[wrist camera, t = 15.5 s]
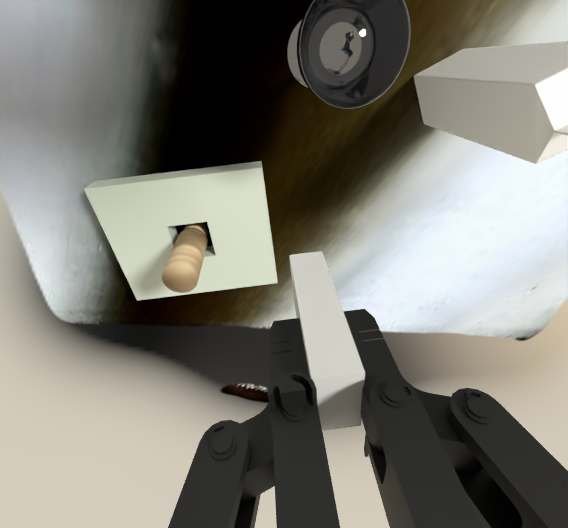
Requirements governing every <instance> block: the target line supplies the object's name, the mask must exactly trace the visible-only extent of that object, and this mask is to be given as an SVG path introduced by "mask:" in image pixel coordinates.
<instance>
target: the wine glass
mask: <svg viewBox="0 0 568 528" xmlns="http://www.w3.org/2000/svg"><path fill="white" fill-rule="evenodd" d="M410 31H411V29H410V18H409V14H408V10H407V6H406V4H405V1H404V0H313V1H312V3H311V4H310V6H309V7H308V9H307V11H306V13H305V15H304V17H303V19H302V20H301V21H300V22H299V23H298V24H297V25H296V26H295V28H294V29H293V31H292V33H291V35H290V39H289V42H288V48H287V58H288V64H289V68H290V70H291V72H292V74H293V76H294V77H295V79H296V80H297V81H298V82H299V83H300V84H302V85H303V86H305V87H307V88H309V89H310V90H311V91H312V92H313V93H314V94H315V95H316V96H317V97H318V98H319V99H321V100H322V101H324V102H325V103H327V104H330V105H332V106H334V107H339V108H357V107H362V106H364V105H367V104H370V103H371V102H373V101H375V100H376V99H378V98H379V97H380V96H382V95H383V94H384V93H385V92H386V91H387V90H388V89H389V88H390V87H391V85H392V84H393V83H394V81H395V80H396V78H397V77H398V75H399V74H400V72H401V70H402V67H403V65H404V63H405V60H406V57H407V54H408V49H409V44H410Z"/></svg>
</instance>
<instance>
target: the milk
mask: <svg viewBox="0 0 568 528" xmlns="http://www.w3.org/2000/svg"><path fill="white" fill-rule="evenodd" d="M414 81H415V86H416V91H417V95H418V100H419V105H420V109H421V114H422V119H423V123H424V124H425V125H428V126H431V127H433V128H436V129H439V130H442V131H445V132H448V133H450V134H453V135H456V136H459V137H462V138H464V139H467V140H470V141H473V142H476V143H479V144H481V145H484V146H487V147H490V148H493V149H495V150H498V151H501V152H504V153H507V154H510V155H512V156H515V157H518V158H521V159H524V160H526V161H529V162H532V163H535V164H536V163H539V162H541V161H543V160H545V159H547V158H550V157H552V156H554V155H556V154H558V153H561V152H563V151H565V150H567V149H568V41H565V42H551V43H538V44H524V45H511V46H497V47H483V48H470V49H462V50H460V51H458V52H457V53H455V54H453V55H451V56H449V57H447V58H446V59H444V60H442V61H440V62H438V63H436V64H434V65H433V66H431V67H429V68H427V69H425V70H423V71H422V72H420V73H418V74H416V75H414Z"/></svg>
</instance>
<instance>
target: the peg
mask: <svg viewBox="0 0 568 528" xmlns="http://www.w3.org/2000/svg"><path fill="white" fill-rule="evenodd" d="M207 235H208V231H207V228H206V227H205V225H203V224H202V223H193V224H186V226H185V228H184V230H182V231H181V232H180V234H179V236H178V238H177V241H176V243H175V245H174V248H173V250H172V252H171V254H170V257H169V259H168V261H167V264H166V266H165V268H164V271H163V273H162V281H163V283H164V285H165V286H166V287H167V288H169V289H170V290H172V291H174V292H179V293H185V292H189V291H191V290H193V289H194V288H195V287H196V286H197V283H198V279H199V275H200V271H201V267H202V263H203V259H204V255H205V251H206V247H207V243H208V240H207Z"/></svg>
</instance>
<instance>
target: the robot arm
mask: <svg viewBox="0 0 568 528" xmlns="http://www.w3.org/2000/svg"><path fill="white" fill-rule="evenodd" d="M289 256H290V266H291V276H292V285H293V295H294V303H295V309H296V316H297V318H296V319H288V320H280V321H274V322H273V324H272V326H271V329H270V331H269V341H270V359H271V380H272V383H271V384H270V386H269V390H268V399H269V403H268V405H267V406H266V408H265V409H264V410H263V411H262V412H261V413H260V414H258V415H256V416H255V417H253V418H251V419H249V420H247V421H245V422H243V423H240V424H239V423H238V422H235V421H232V420H227V421H221V422H218V423H216V424H214V425H212V426H211V427H210V428H209V429H208V430H207V431H206V432H205V433H204V435H203V437H202V439H201V440H200V442H199V445H198V448H197V451H196V454H195V456H194V459H193V462H192V464H191V467H190V470H189V472H188V475H187V478H186V480H185V483H184V486H183V489H182V491H181V494H180V497H179V499H178V502H177V505H176V508H175V510H174V513H173V516H172V518H171V521H170V524H169V527H168V528H254V526H255V521H256V515H257V510H258V505H259V499H260V494H261V493H263V492H265V491H266V490H268V489H270V488H271V487H273V486H275V499H276V518H277V528H340V525H339V520H338V514H337V509H336V504H335V499H334V493H333V487H332V482H331V476H330V472H329V465H328V460H327V454H326V449H325V444H324V438H323V433H322V430H329V429H337V428H345V427H352V426H360V425H361V418H362V421H363V424H364V427H365V431H366V436H365V446H364V452H365V457H367V456H368V455H369V457H370V460H371V464H372V467H373V470H374V474H375V477H376V481H377V484H378V488H379V491H380V495H381V498H382V502H383V505H384V509H385V512H386V516H387V519H388V523H389V526H390V528H568V471H567V470H566V469H565V468H564V467H563V466H562V465H561V464H560V463H559V462H558V461H557V460H556V459H555V458H554V457H553V456H552V455H551V454H550V453H549V452H548V451H547V450H546V449H545V448H544V447H543V446H542V445H541V444H540V443H539V442H538V441H537V440H536V439H535V438H534V437H533V436H532V435H531V434H530V433H529V432H528V431H527V430H526V429H525V428H524V427H523V426H522V425H521V424H520V423H519V422H518V421H517V420H516V419H515V418H514V417H513V416H512V415H511V414H510V413H509V412H507V411H506V410H505V408H503V406H502V405H501V404H499V403H498V402H497V401H496V400H495V399H494V398H492V397H491V396H490V395H488V394H486V393H484V392H482V391H479V390H476V389H470V388H465V389H459V390H457V391H456V392H455V393H453V394H452V397H449V396H443V395H437V394H431V393H427V392H423V391H421V390H418V389H416V388H414V387H413V386H412V385H411V384H409V383H408V382H407V381H406V380H405V379H404V378H403V377H402V375H401V374H400V372H399V370H398V367H397V365H396V363H395V361H394V359H393V357H392V355H391V353H390V350H389V349H388V346H387V344H386V342H385V340H384V339H383V336H382V333H381V331H380V330H379V327H378V325H377V323H376V321H375V318H374V317H373V316H372V315H371V314H370V313H368V312H367V311H366V310H365V309H360V310H353V311H345V312H343V309H342V306H341V303H340V301H339V298H338V295H337V292H336V289H335V286H334V284H333V281H332V278H331V275H330V272H329V270H328V267H327V264H326V261H325V258H324V256H323V253H322V251H319V252H311V253H303V254H295V255H289Z"/></svg>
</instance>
